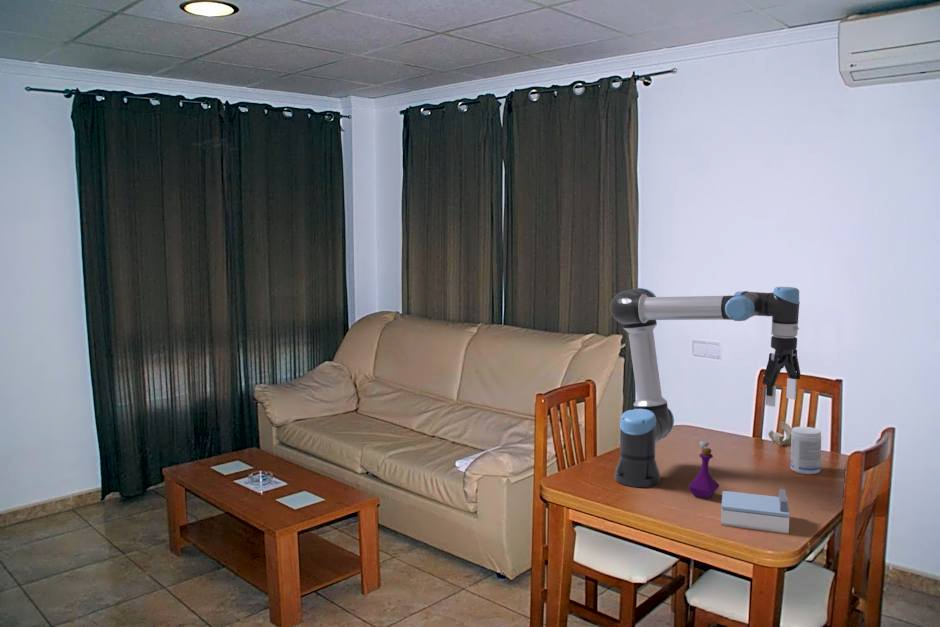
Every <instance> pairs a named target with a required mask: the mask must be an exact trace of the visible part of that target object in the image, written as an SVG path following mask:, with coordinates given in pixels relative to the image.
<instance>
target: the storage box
mask: <svg viewBox="0 0 940 627" xmlns="http://www.w3.org/2000/svg"><path fill="white" fill-rule="evenodd" d="M720 509H721V508H720ZM720 511H721V512H720V526H726V527H734V528H742V529H751V530H758V531H764V532H765V531H767V532H773V533H783V534H789V533H790V516H789V517H784V516H776V515H768V514H759V513H751V512H742V511H734V510H726V509H721V510H720Z"/></svg>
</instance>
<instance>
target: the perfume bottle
mask: <svg viewBox="0 0 940 627" xmlns="http://www.w3.org/2000/svg"><path fill="white" fill-rule="evenodd" d="M709 445H710V443H709V442H707V441H699V447H700V449H701V453H700V454H699V457H700V459H701V460H702V461H701V462H702V463H701V468H700V470H699V472H698V474H697V475H696V476H695V478H694V479H693V480H692V481H691V482H690V483H689V485H688V486H687V488H688V489H689V491H690V492H691V493H692V495H693V496H694V497H696V498H699V499H701V498H702V499H704V500H705V499H706V500H708V499H709V498H711V497H712V496H713V495H714V493H715V492H716V491H717V489H718V488H719V487H720V484H719V483H718V482H716V480H715V479H714V478H713V477H712V476H711V474H710V472H709V462H710V460H711V459H712V458H713V457H714V455H713V454H711V453H712V449H711V448H709V447H708V446H709Z"/></svg>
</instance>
